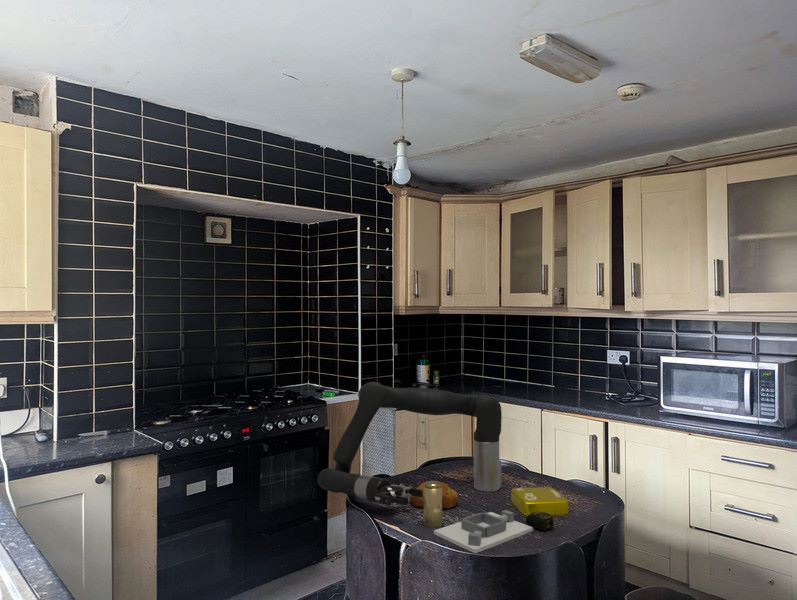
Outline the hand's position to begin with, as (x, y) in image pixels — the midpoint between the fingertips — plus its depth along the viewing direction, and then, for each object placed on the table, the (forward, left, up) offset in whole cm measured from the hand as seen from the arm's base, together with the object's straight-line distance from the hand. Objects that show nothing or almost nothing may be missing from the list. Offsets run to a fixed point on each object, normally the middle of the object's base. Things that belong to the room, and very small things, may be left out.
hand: (415, 497), depth 163 cm
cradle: (-9, +20, -7) cm, 23 cm away
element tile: (-39, +17, -7) cm, 43 cm away
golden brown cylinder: (-2, +6, -7) cm, 9 cm away
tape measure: (-25, +28, -7) cm, 38 cm away
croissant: (-15, -7, -7) cm, 18 cm away
